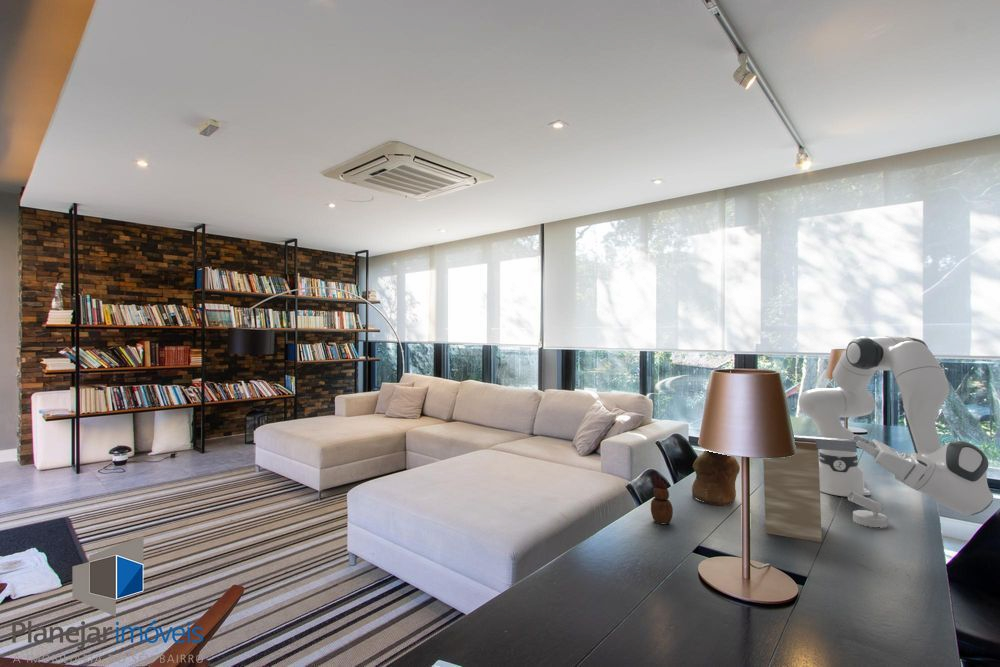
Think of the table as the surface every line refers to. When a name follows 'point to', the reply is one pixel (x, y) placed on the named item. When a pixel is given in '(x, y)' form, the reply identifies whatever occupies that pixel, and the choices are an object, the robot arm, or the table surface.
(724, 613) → the table surface
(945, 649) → the table surface
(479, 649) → the table surface
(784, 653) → the table surface
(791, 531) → the stand
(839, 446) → the bracket
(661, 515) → the wooden figurine
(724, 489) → the ceramic vessel
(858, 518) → the wall hook
